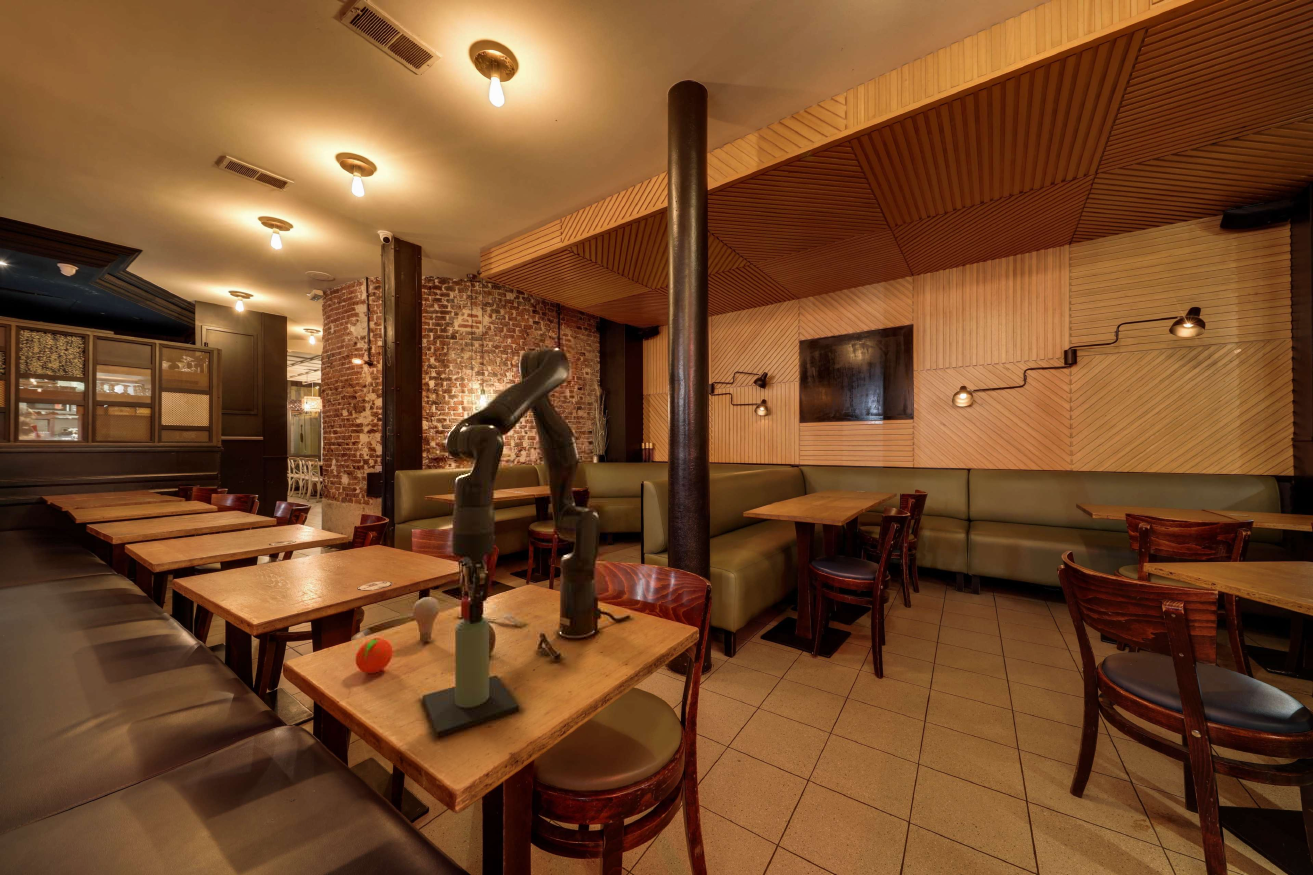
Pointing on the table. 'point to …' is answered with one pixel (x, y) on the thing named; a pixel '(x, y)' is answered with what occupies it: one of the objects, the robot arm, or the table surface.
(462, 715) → the coaster
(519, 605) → the table surface
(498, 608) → the table surface
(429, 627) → the lightbulb
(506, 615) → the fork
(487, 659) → the bottle
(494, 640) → the vase
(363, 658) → the clementine
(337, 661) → the table surface
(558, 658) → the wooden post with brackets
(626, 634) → the table surface
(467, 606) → the cap
